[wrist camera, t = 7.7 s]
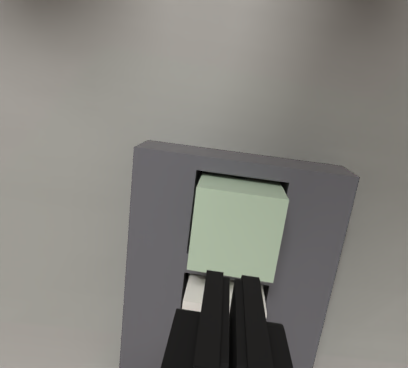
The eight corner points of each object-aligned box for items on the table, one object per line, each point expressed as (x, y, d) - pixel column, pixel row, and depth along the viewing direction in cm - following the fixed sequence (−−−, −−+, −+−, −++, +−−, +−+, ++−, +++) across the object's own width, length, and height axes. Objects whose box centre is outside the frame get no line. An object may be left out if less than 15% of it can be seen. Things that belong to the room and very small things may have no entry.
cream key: (191, 267, 21) (182, 300, 18) (261, 278, 21) (267, 313, 17) (184, 327, 22) (174, 369, 19) (250, 338, 22) (253, 382, 18)
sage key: (203, 171, 19) (196, 186, 16) (279, 182, 19) (289, 200, 16) (194, 241, 20) (186, 269, 17) (266, 252, 20) (272, 283, 17)
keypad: (148, 140, 21) (133, 146, 18) (342, 165, 20) (359, 177, 17) (129, 384, 26) (115, 420, 23) (285, 412, 25) (291, 453, 22)
